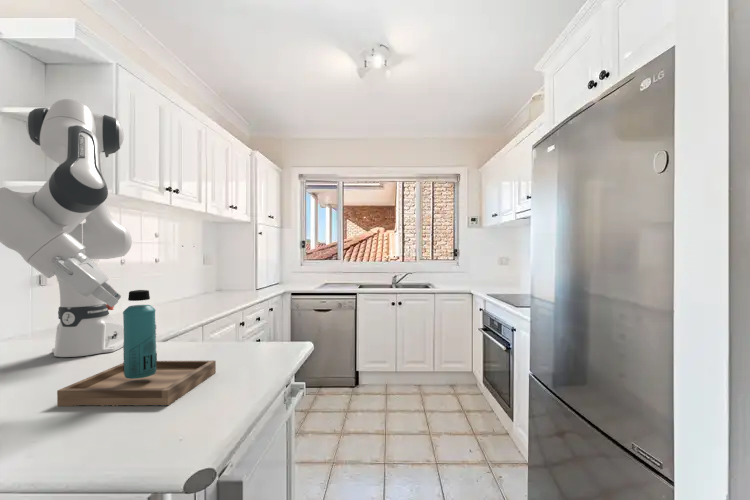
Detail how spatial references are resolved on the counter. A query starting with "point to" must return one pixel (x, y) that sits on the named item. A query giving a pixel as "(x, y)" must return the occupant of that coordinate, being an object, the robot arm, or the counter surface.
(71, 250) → the robot arm
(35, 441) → the counter surface
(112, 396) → the walnut tray
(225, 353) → the counter surface
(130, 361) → the beverage bottle
